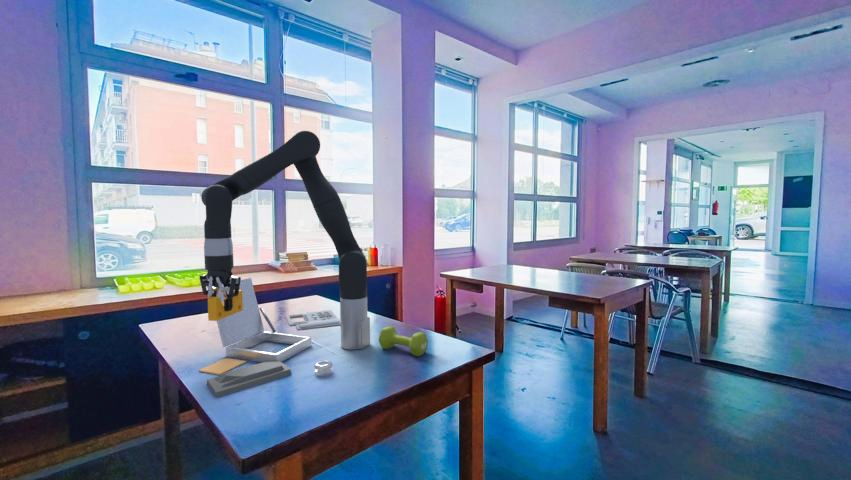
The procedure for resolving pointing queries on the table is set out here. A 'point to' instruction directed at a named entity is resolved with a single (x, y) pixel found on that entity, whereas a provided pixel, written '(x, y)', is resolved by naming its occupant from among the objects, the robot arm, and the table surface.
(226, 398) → the table surface
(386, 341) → the dumbbell
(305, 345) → the case
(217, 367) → the tan rectangular plate
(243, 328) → the lid
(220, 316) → the yellow curved stepped piece
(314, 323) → the office telephone
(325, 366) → the metal grooved wheel
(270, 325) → the rod
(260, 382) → the grey bevelled block
